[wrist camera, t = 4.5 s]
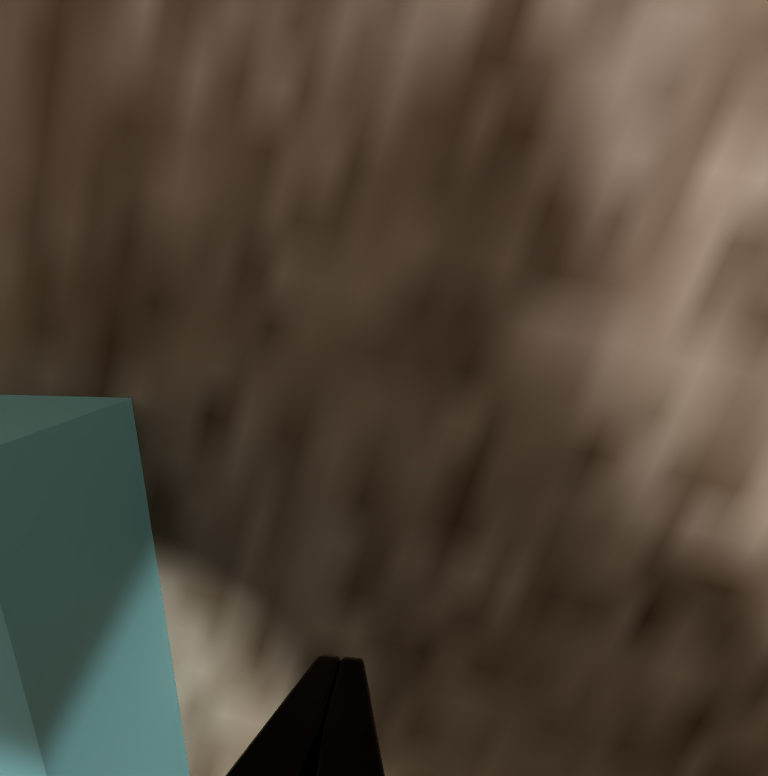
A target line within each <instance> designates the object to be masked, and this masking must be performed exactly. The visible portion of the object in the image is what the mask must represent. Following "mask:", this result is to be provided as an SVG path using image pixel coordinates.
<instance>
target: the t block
mask: <svg viewBox="0 0 768 776" xmlns="http://www.w3.org/2000/svg"><path fill="white" fill-rule="evenodd" d="M0 776H190V774H189V767H188V761H187V755H186V748H185V742H184V735H183V729H182V722H181V716H180V709H179V703H178V696H177V690H176V683H175V677H174V670H173V664H172V658H171V651H170V645H169V638H168V632H167V625H166V619H165V612H164V606H163V599H162V593H161V586H160V580H159V574H158V567H157V561H156V554H155V548H154V541H153V535H152V528H151V522H150V515H149V509H148V502H147V496H146V490H145V483H144V477H143V470H142V464H141V457H140V451H139V444H138V438H137V431H136V425H135V418H134V412H133V405H132V399H131V398H116V397H80V396H43V395H2V394H0Z"/></svg>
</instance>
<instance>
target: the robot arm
mask: <svg viewBox="0 0 768 776" xmlns="http://www.w3.org/2000/svg"><path fill="white" fill-rule="evenodd" d="M226 776H385V775H384V770H383V764H382V759H381V753H380V748H379V743H378V737H377V732H376V726H375V721H374V715H373V710H372V704H371V699H370V693H369V688H368V682H367V677H366V671H365V666H364V662H363V660H362V659H361V658H354V657H343V658H342V659H341V658H340V657H338V656H332V655H320V656H318V657H317V659H316V660H315V661H314V662H313V664H312V665H311V666H310V668H309V669H308V670H307V671H306V673H305V674H304V675H303V677H302V678H301V679H300V680H299V682H298V683H297V684H296V686H295V687H294V688H293V689H292V691H291V692H290V693H289V695H288V696H287V697H286V698H285V700H284V701H283V702H282V704H281V705H280V706H279V707H278V709H277V710H276V711H275V713H274V714H273V715H272V717H271V718H270V719H269V720H268V722H267V723H266V724H265V726H264V727H263V728H262V729H261V731H260V732H259V733H258V735H257V736H256V737H255V738H254V740H253V741H252V742H251V744H250V745H249V746H248V747H247V749H246V750H245V751H244V753H243V754H242V755H241V757H240V758H239V759H238V760H237V762H236V763H235V764H234V766H233V767H232V768H231V769H230V771H229V772H228V773H227V775H226Z"/></svg>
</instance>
